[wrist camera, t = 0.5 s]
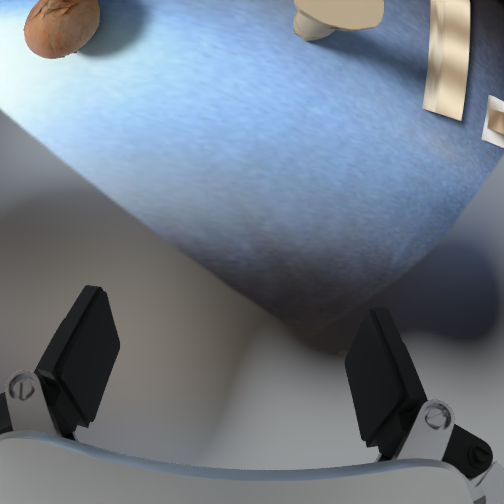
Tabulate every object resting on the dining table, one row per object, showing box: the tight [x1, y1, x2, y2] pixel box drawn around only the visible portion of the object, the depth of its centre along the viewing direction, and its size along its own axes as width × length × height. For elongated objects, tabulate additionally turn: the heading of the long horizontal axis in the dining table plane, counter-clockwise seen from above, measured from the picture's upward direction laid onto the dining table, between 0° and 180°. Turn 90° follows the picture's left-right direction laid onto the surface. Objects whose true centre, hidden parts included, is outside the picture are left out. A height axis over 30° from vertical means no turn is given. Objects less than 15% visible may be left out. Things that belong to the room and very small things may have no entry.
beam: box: [422, 0, 470, 121], centre depth 24 cm, size 24×4×4 cm, turn 176°
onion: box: [24, 0, 100, 59], centre depth 22 cm, size 10×9×10 cm
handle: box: [293, 0, 384, 41], centre depth 21 cm, size 5×6×15 cm
